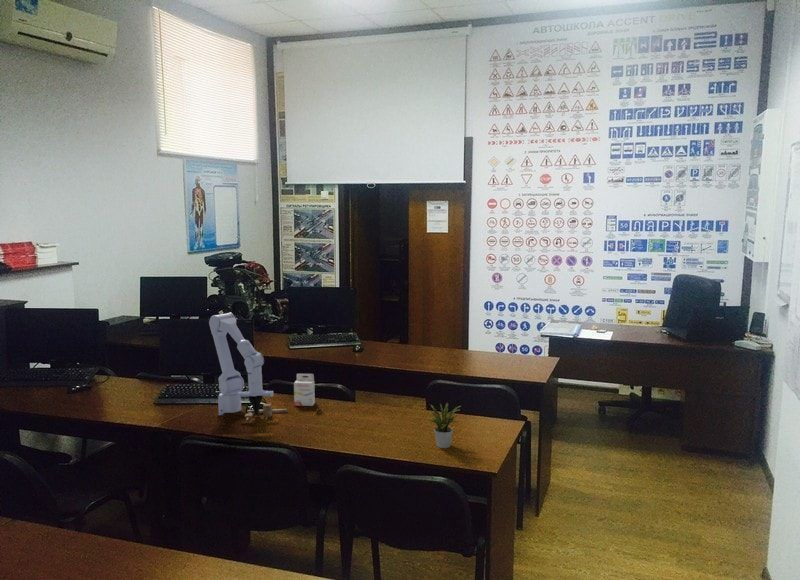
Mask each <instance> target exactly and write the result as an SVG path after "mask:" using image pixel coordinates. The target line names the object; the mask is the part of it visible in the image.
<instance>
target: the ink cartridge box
mask: <svg viewBox="0 0 800 580" xmlns="http://www.w3.org/2000/svg"><path fill="white" fill-rule="evenodd" d="M315 389H316V387H315V376H314V373H296V380H295V381H294V382H293V397H294V402H293V403H294V406H296V407H297V406H300V407H302V406H304V407H305V406H306V407H307V406H311V407H312V406H314V405H315V403H316V397H315V396H316V395H315Z"/></svg>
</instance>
